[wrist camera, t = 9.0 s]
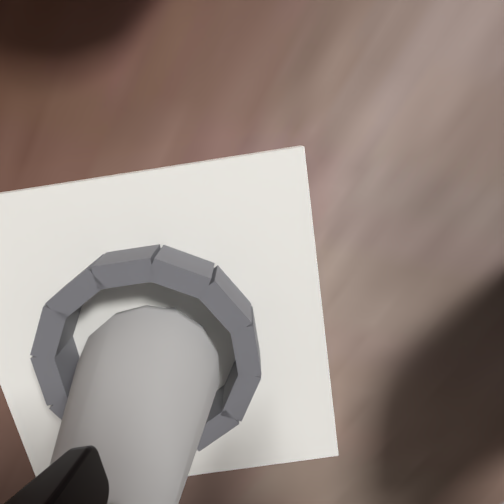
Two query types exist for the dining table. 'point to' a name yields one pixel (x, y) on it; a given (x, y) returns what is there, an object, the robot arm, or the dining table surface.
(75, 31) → the dining table surface
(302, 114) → the dining table surface
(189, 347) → the salt shaker
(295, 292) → the ring holder
